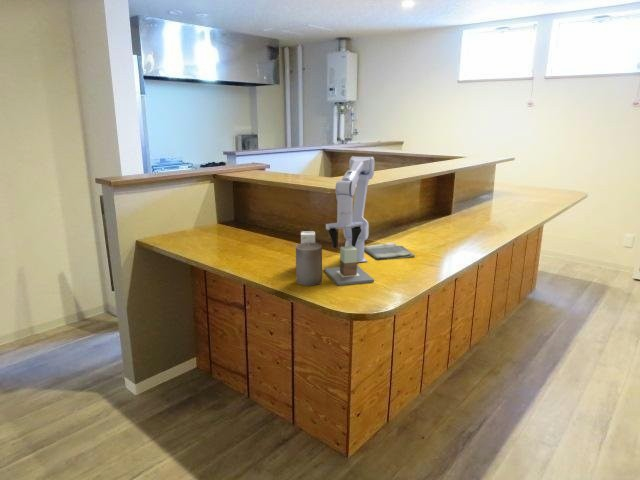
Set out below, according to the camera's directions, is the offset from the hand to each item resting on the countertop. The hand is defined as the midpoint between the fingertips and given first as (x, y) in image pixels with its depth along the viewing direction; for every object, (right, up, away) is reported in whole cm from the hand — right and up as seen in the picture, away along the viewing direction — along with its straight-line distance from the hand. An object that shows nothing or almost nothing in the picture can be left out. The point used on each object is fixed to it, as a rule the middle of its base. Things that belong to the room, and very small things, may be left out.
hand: (344, 246), depth 175 cm
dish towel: (+22, -4, +29) cm, 36 cm away
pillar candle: (-13, -13, -8) cm, 20 cm away
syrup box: (-14, -9, +9) cm, 19 cm away
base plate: (+1, -11, -2) cm, 12 cm away
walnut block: (+1, -10, -2) cm, 11 cm away
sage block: (+1, -5, -4) cm, 7 cm away
